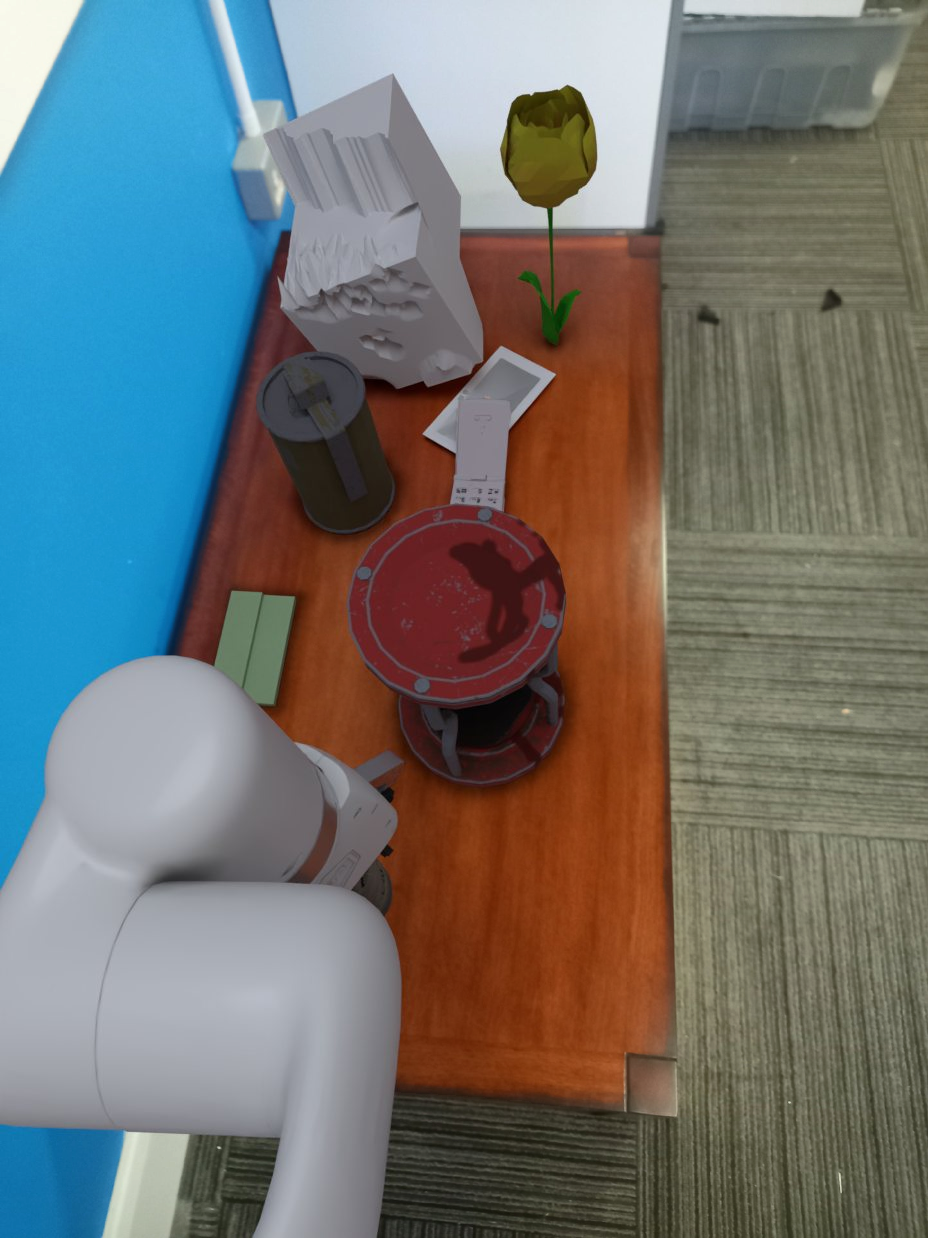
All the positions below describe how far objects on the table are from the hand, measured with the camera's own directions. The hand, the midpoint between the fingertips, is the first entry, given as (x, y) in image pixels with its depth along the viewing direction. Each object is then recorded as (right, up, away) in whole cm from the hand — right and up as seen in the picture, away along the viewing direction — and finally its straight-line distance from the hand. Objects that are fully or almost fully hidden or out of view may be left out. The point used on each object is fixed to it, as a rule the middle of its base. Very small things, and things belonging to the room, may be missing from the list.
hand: (340, 879), depth 57 cm
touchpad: (+11, +40, +46) cm, 62 cm away
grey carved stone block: (0, +50, +51) cm, 72 cm away
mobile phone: (+9, +27, +40) cm, 49 cm away
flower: (+18, +49, +49) cm, 72 cm away
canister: (-5, +30, +43) cm, 53 cm away
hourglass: (+10, +8, +31) cm, 33 cm away
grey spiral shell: (+1, -4, +9) cm, 10 cm away
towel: (-14, +13, +36) cm, 41 cm away
